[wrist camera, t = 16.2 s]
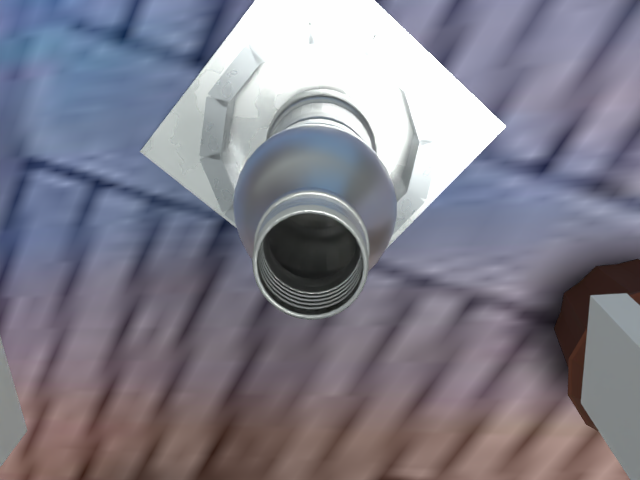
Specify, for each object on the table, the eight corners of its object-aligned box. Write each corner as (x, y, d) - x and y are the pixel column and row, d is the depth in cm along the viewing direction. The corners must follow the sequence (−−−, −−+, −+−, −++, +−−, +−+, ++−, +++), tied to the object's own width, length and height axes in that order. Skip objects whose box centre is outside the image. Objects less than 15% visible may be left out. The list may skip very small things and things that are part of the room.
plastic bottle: (280, 198, 38) (229, 374, 20) (260, 91, 36) (181, 174, 17) (380, 184, 38) (426, 350, 19) (367, 75, 36) (405, 142, 17)
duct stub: (332, 297, 42) (332, 325, 38) (144, 148, 38) (124, 162, 35) (501, 123, 37) (520, 135, 34) (306, -63, 34) (302, -73, 30)
